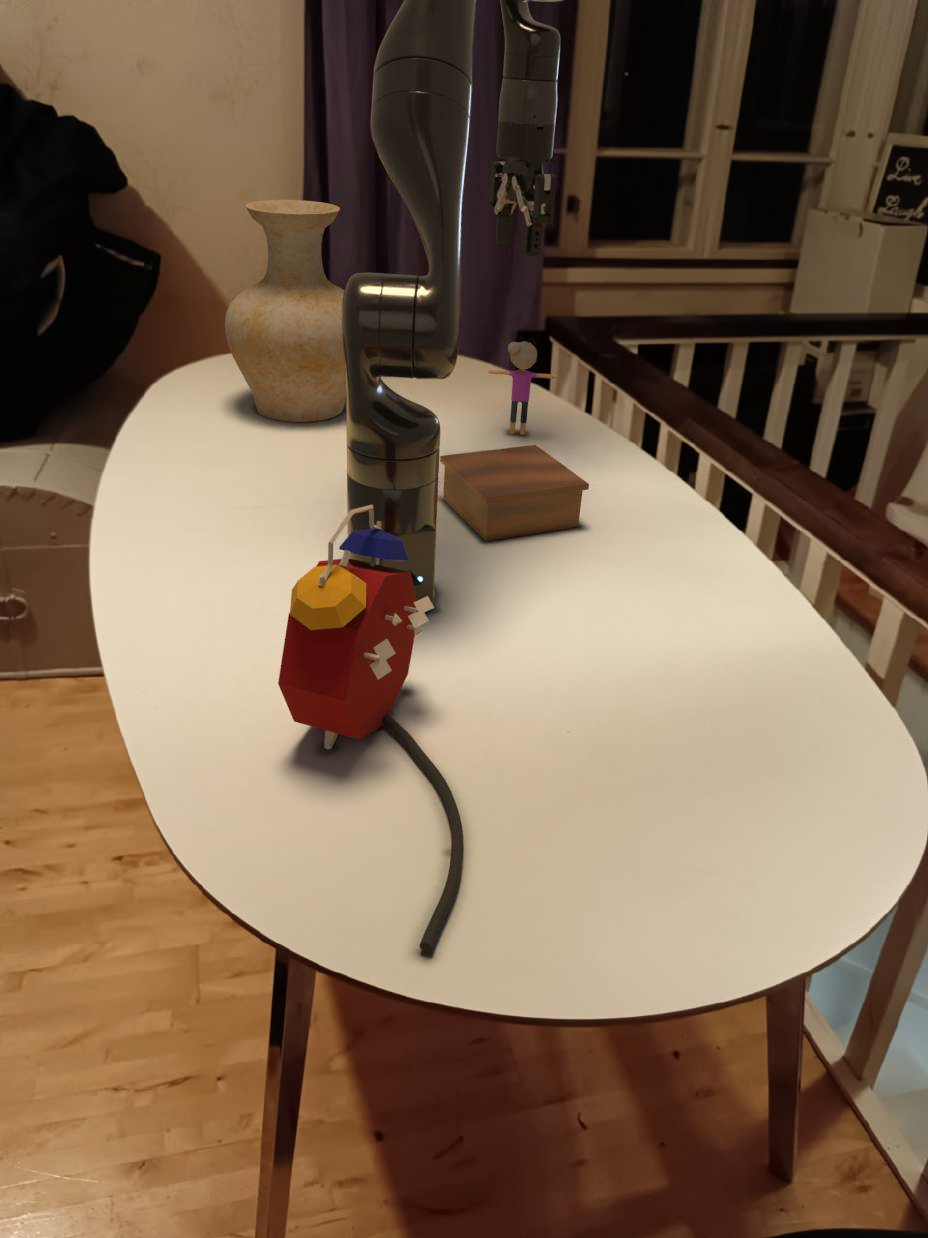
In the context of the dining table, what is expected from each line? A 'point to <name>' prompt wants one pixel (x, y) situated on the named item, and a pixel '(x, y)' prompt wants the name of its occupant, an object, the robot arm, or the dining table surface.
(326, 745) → the alarm clock
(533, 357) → the toy
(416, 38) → the robot arm
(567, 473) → the wooden stand
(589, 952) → the dining table surface
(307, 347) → the vase
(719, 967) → the dining table surface
